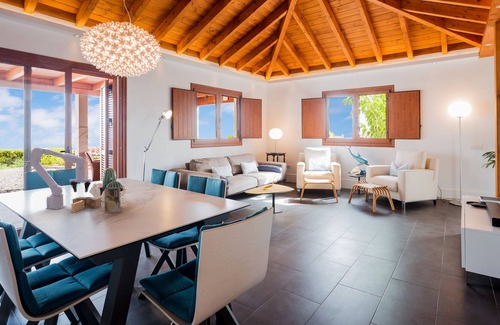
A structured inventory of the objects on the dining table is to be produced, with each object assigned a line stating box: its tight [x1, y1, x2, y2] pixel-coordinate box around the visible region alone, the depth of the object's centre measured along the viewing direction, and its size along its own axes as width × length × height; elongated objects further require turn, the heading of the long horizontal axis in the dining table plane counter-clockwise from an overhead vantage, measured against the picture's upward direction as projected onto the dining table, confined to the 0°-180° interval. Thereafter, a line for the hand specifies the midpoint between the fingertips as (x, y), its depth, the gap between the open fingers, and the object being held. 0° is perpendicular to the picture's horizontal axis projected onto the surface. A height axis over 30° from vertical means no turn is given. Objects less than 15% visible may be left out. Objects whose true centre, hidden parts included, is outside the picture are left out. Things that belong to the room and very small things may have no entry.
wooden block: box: [72, 196, 102, 209], centre depth 206 cm, size 16×8×7 cm, turn 91°
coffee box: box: [103, 186, 122, 214], centre depth 194 cm, size 9×6×16 cm
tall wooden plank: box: [71, 200, 86, 213], centre depth 195 cm, size 2×12×6 cm, turn 1°
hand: (80, 192), depth 208 cm, fingers open, 7 cm apart
